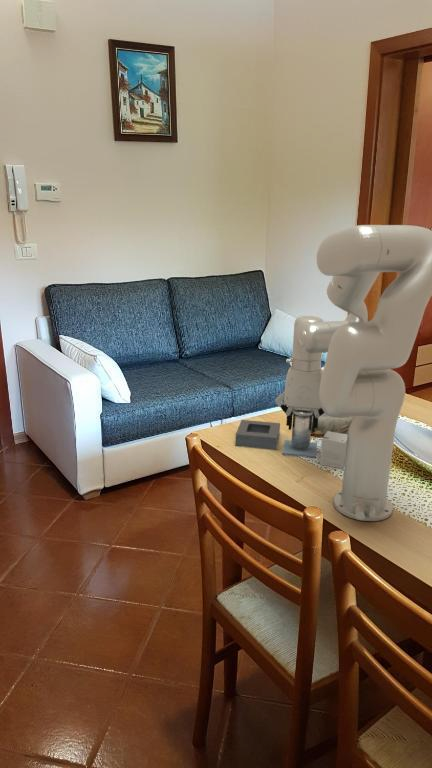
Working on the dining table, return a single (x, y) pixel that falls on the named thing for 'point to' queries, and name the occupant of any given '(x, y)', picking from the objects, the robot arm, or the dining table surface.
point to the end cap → (301, 427)
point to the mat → (300, 450)
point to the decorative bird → (333, 424)
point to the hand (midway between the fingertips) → (301, 428)
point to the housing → (257, 434)
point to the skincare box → (333, 449)
